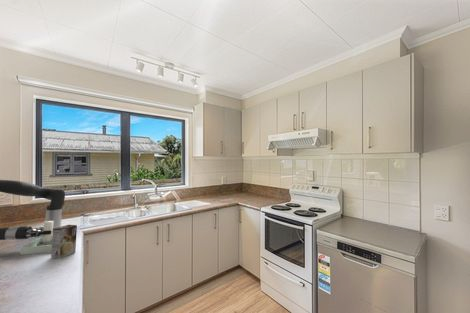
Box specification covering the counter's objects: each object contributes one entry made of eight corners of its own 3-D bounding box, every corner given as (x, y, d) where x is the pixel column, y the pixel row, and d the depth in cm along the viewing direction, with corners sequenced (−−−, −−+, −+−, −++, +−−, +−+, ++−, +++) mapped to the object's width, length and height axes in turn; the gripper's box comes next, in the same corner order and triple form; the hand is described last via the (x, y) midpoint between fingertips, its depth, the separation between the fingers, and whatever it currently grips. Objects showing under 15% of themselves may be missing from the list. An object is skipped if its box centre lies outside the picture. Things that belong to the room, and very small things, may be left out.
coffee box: (67, 251, 121) (69, 224, 122) (75, 252, 120) (77, 225, 121) (50, 257, 112) (52, 228, 113) (59, 259, 111) (61, 229, 112)
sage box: (39, 243, 132) (40, 237, 132) (68, 241, 137) (69, 235, 137) (20, 254, 115) (20, 247, 115) (54, 251, 119) (54, 245, 120)
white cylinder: (44, 243, 127) (46, 221, 128) (53, 242, 128) (55, 220, 129) (40, 246, 123) (42, 222, 124) (49, 245, 124) (51, 222, 125)
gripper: (10, 230, 115) (47, 228, 120) (27, 223, 129) (59, 222, 134) (9, 243, 115) (46, 241, 120) (26, 235, 128) (58, 233, 134)
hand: (53, 231), depth 127 cm, fingers closed on white cylinder, 4 cm apart
